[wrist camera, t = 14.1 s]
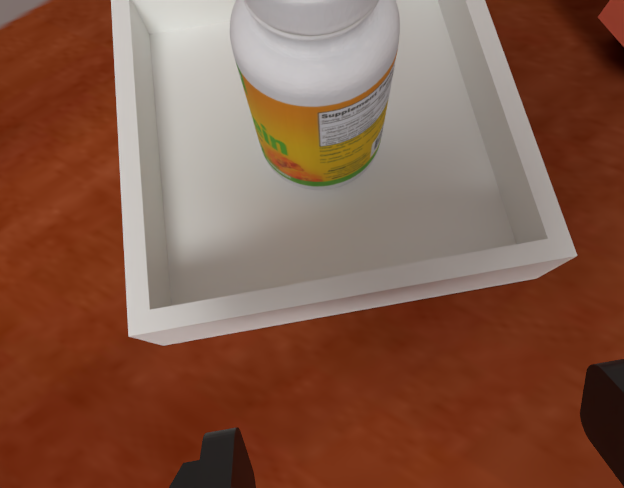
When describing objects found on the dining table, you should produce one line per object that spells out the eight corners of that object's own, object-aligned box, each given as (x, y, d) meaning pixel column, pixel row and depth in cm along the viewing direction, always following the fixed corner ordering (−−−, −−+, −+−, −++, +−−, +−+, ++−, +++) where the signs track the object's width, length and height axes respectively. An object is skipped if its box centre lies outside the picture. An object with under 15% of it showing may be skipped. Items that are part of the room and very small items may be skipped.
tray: (440, -13, 25) (457, -76, 21) (536, 278, 20) (577, 255, 16) (140, 38, 24) (110, -17, 21) (163, 345, 20) (128, 336, 16)
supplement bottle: (240, 119, 22) (171, -87, 12) (342, 70, 22) (348, -163, 13) (295, 214, 20) (261, 58, 11) (403, 158, 21) (459, -35, 11)
